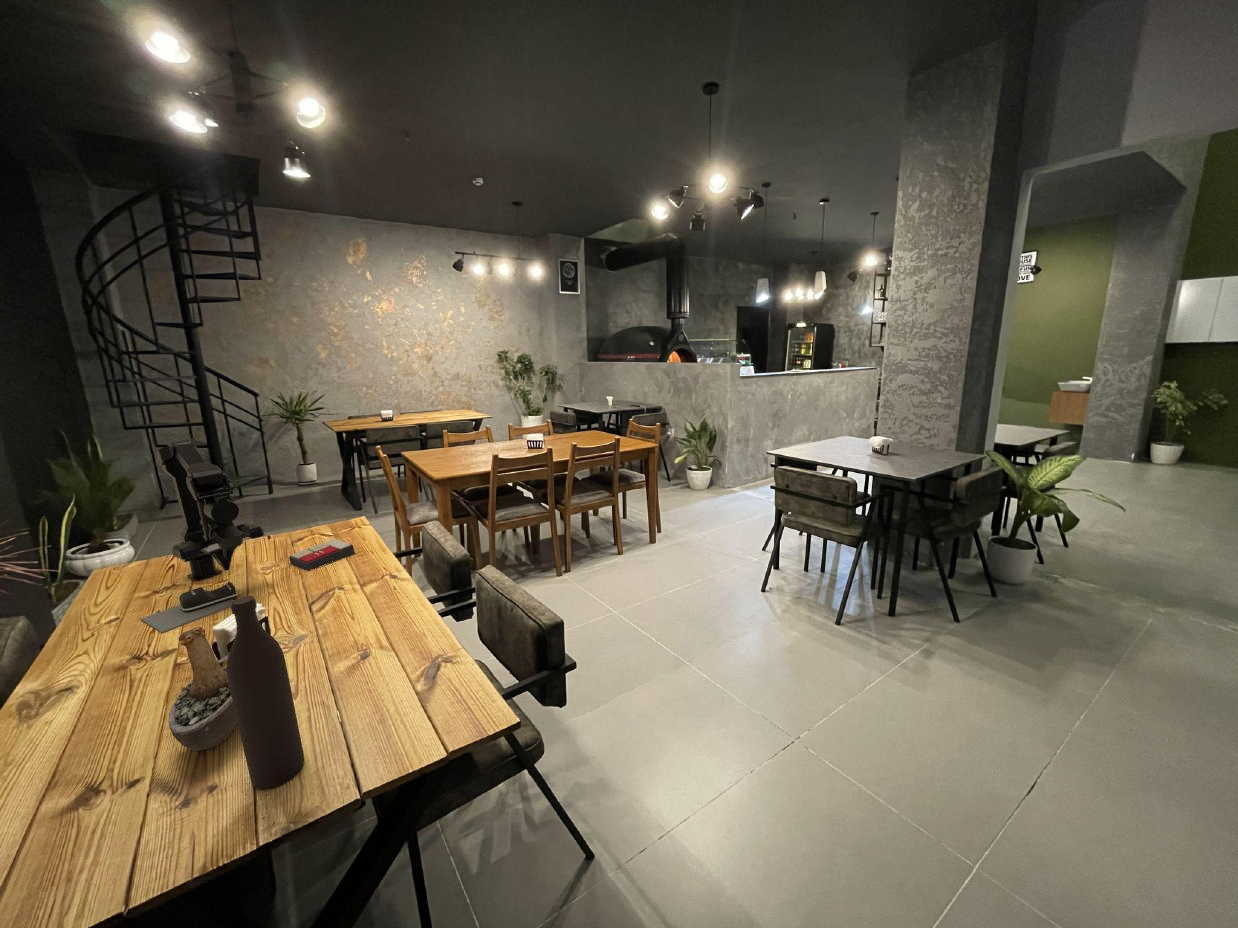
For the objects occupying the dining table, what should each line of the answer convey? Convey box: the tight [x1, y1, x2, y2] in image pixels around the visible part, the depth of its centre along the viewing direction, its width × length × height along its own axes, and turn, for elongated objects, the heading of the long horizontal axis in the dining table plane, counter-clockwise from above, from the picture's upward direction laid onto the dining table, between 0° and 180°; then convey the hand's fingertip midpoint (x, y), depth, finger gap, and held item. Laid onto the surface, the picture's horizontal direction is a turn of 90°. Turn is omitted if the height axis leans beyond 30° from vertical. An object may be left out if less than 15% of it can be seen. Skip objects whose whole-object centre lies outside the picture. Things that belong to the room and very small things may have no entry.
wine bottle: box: [226, 595, 305, 791], centre depth 74 cm, size 7×7×30 cm
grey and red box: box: [288, 538, 356, 572], centre depth 159 cm, size 11×4×15 cm
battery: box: [178, 581, 238, 612], centre depth 132 cm, size 7×4×11 cm
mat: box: [140, 599, 235, 634], centre depth 128 cm, size 13×16×1 cm
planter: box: [168, 626, 238, 751], centre depth 85 cm, size 15×17×20 cm
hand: (226, 570), depth 134 cm, fingers closed
